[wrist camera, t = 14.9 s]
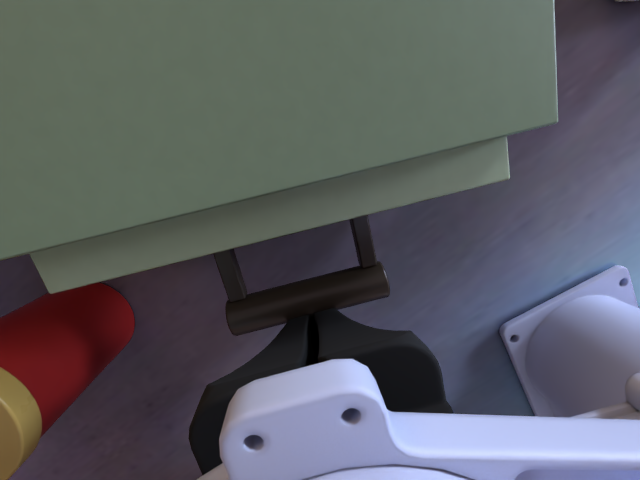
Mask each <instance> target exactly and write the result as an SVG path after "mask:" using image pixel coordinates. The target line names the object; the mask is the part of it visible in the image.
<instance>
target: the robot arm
mask: <svg viewBox="0 0 640 480" xmlns="http://www.w3.org/2000/svg"><path fill="white" fill-rule="evenodd" d="M499 331H500V335H501V337H502V340H503V342H504V344H505V347H506V349H507V351H508V354H509V356H510V359H511V361H512V363H513V366H514V368H515V370H516V373H517V375H518V377H519V380H520V382H521V385H522V387H523V389H524V392H525V394H526V396H527V399H528V401H529V403H530V406H531V408H532V411H533V413H534V415H535V416H507V415H476V414H454V413H453V411H452V408H451V407H450V405H449V404H448V402H447V401H446V397H445V391H444V385H443V379H442V373H441V369H440V366H439V363H438V361H437V360H436V358H435V356H434V355H433V354H432V352H431V351H430V350H429V349H428V347H427V346H426V345H425V344H424V343H423V342H422V341H421V340H420V339H419V338H418V337H417V336H416V335H414V334H413V333H412V332H411V331H391V330H383V329H377V328H372V327H369V326H365V325H362V324H360V323H357V322H355V321H353V320H351V319H349V318H347V317H346V316H344V315H343V314H342V313H340V312H339V311H338V310H336V309H334V308H332V309H328V310H324V311H320V312H317V313H314V316H311V317H310V316H309V315H305V316H301V317H298V318H294V319H290V320H288V322H287V323H286V325H285V326H284V327H283V329H282V330H281V331H280V333H279V334H278V335H277V336H276V338H275V339H274V340H273V341H272V342H271V343H270V344H269V345H268V346H267V347H266V348H265V349H264V350H263V351H261V352H260V353H259V354H258V355H256V356H255V357H254V358H253V359H251V360H250V361H249V362H247V363H246V364H244V365H243V366H241V367H240V368H238V369H237V370H235V371H233V372H232V373H230V374H228V375H226V376H224V377H222V378H220V379H218V380H216V381H214V382H212V383H210V384H208V385H207V386H206V388H205V390H204V393H203V395H202V397H201V399H200V402H199V404H198V407H197V409H196V412H195V415H194V417H193V420H192V422H191V425H190V428H189V441H190V445H191V449H192V451H193V454H194V456H195V458H196V461H197V463H198V465H199V468H200V470H201V472H202V475H203V476H201V477H200V478H198V479H197V480H640V309H639V308H638V304H637V300H636V296H635V293H634V289H633V285H632V282H631V278H630V274H629V271H628V269H627V268H625V267H623V266H619V265H616V266H613V267H611V268H609V269H607V270H605V271H604V272H602V273H600V274H598V275H596V276H594V277H592V278H590V279H588V280H586V281H584V282H582V283H580V284H579V285H577V286H575V287H573V288H571V289H569V290H567V291H565V292H563V293H561V294H559V295H557V296H556V297H554V298H552V299H550V300H548V301H546V302H544V303H542V304H540V305H538V306H536V307H534V308H533V309H531V310H529V311H527V312H525V313H523V314H521V315H519V316H517V317H515V318H513V319H511V320H509V321H508V322H506V323H504V324H503V325H502V326H501V327H500V330H499ZM512 336H513V338H512V339H510V338H511V337H512Z"/></svg>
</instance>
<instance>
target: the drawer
mask: <svg viewBox="0 0 640 480" xmlns="http://www.w3.org/2000/svg"><path fill="white" fill-rule="evenodd" d="M509 178H510V173H509V159H508V146H507V136H504V137H500V138H496V139H492V140H488V141H484V142H480V143H476V144H472V145H468V146H464V147H460V148H456V149H452V150H448V151H443V152H439V153H435V154H431V155H427V156H423V157H419V158H415V159H411V160H407V161H403V162H399V163H395V164H391V165H387V166H383V167H379V168H375V169H370V170H366V171H362V172H358V173H354V174H350V175H346V176H342V177H338V178H334V179H330V180H326V181H322V182H318V183H314V184H310V185H306V186H302V187H297V188H293V189H289V190H285V191H281V192H277V193H273V194H269V195H265V196H261V197H257V198H253V199H249V200H245V201H241V202H237V203H233V204H229V205H224V206H220V207H216V208H212V209H208V210H204V211H200V212H196V213H192V214H188V215H184V216H180V217H176V218H172V219H168V220H164V221H160V222H156V223H151V224H147V225H143V226H139V227H135V228H131V229H127V230H123V231H119V232H115V233H111V234H107V235H103V236H99V237H95V238H91V239H87V240H82V241H78V242H74V243H70V244H66V245H62V246H58V247H54V248H50V249H46V250H42V251H38V252H34V253H30V254H29V255H30V257H31V258H32V260H33V262H34V264H35V266H36V268H37V270H38V272H39V274H40V276H41V278H42V280H43V282H44V284H45V286H46V288H47V290H48V292H49V293H50V294H54V293H58V292H62V291H66V290H70V289H74V288H78V287H82V286H86V285H90V284H94V283H98V282H102V281H106V280H110V279H114V278H118V277H122V276H126V275H130V274H134V273H138V272H142V271H146V270H150V269H154V268H158V267H162V266H166V265H170V264H174V263H178V262H182V261H186V260H190V259H193V258H197V257H201V256H205V255H209V254H214V257H215V260H216V263H217V266H218V269H219V272H220V275H221V278H222V281H223V284H224V287H225V290H226V293H227V295H228V298H229V300H228V301H227V302H226V319H227V323H228V326H229V329H230V331H231V332H232V334H233V335H235V336H238V335H242V334H246V333H250V332H253V331H257V330H261V329H265V328H269V327H273V326H277V325H280V324H284V323H287V322H288V320H290V319H294V318H298V317H301V316H305V315H309V316H310V317H311V316H314V313H317V312H320V311H324V310H328V309H332V308H334V309H336V310H338V309H342V308H346V307H350V306H354V305H358V304H362V303H365V302H369V301H373V300H377V299H381V298H385V297H388V296H389V295H390V287H389V282H388V278H387V275H386V272H385V269H384V267H383V265H382V264H381V262H379V261H377V260H376V255H375V250H374V245H373V240H372V235H371V230H370V225H369V220H368V215H369V214H373V213H377V212H381V211H385V210H389V209H393V208H397V207H401V206H405V205H409V204H413V203H417V202H421V201H425V200H429V199H433V198H437V197H441V196H445V195H449V194H453V193H457V192H461V191H465V190H469V189H473V188H477V187H481V186H485V185H489V184H493V183H497V182H501V181H505V180H508V179H509ZM349 219H350V224H351V229H352V233H353V238H354V243H355V247H356V252H357V257H358V261H359V264H360V266H356V267H353V268H349V269H345V270H341V271H337V272H333V273H329V274H325V275H321V276H317V277H313V278H309V279H306V280H302V281H298V282H294V283H290V284H286V285H282V286H278V287H274V288H270V289H266V290H262V291H259V292H255V293H251V294H247V289H246V286H245V283H244V280H243V277H242V274H241V271H240V268H239V264H238V261H237V258H236V255H235V252H234V249H233V248H237V247H241V246H245V245H249V244H253V243H257V242H261V241H265V240H269V239H273V238H277V237H281V236H285V235H289V234H293V233H297V232H301V231H305V230H309V229H313V228H317V227H321V226H325V225H329V224H333V223H337V222H341V221H345V220H349Z"/></svg>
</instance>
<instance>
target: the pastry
mask: <svg viewBox="0 0 640 480" xmlns="http://www.w3.org/2000/svg"><path fill="white" fill-rule="evenodd" d="M614 1H616V2H625V1H639V0H614Z"/></svg>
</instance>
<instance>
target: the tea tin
mask: <svg viewBox="0 0 640 480" xmlns="http://www.w3.org/2000/svg"><path fill="white" fill-rule="evenodd" d="M134 327H135V319H134V314H133V311H132V309H131V307H130V305H129V303H128V302H127V300H126V299H125V298H124V297H123V296H122V295H121V294H120V293H119V292H117V291H116V290H114V289H113V288H111V287H109V286H107V285H105V284H102V283H94V284H90V285H86V286H82V287H78V288H74V289H70V290H66V291H62V292H58V293H54V294H50V293H47V294H45V295H43V296H41V297H40V298H38V299H36V300H34V301H32V302H30V303H28V304H26V305H24V306H22V307H20V308H18V309H16V310H15V311H13V312H11V313H9V314H7V315H5V316H3V317H1V318H0V480H8V479H9V478H10V477H11V476H12V475H13V474H14V473H15V472H16V470H17V469H18V468H19V467H20V466H21V465H22V464H23V463H24V462H25V461H26V459H27V458H28V457H29V456H30V455H31V454H32V453H33V451H34V450H35V448H36V446H37V444H38V442H39V439H40V438H41V436H42V435H43V434H44V433H45V432H46V431H47V430H48V429H49V428H50V427H51V426H52V425H53V424H54V422H55V421H56V420H57V419H58V418H59V417H60V416H61V415H62V414H63V413H64V412H65V411H66V409H67V408H68V407H69V406H70V405H71V404H72V403H73V402H74V401H75V400H76V399H77V398H78V397H79V395H80V394H81V393H82V392H83V391H84V390H85V389H86V388H87V387H88V386H89V385H90V384H91V383H92V381H93V380H94V379H95V378H96V377H97V376H98V375H99V374H100V373H101V372H102V371H103V370H104V368H105V367H106V366H107V365H108V364H109V363H110V362H111V361H112V360H113V359H114V358H115V357H116V356H117V354H118V353H119V352H120V351H121V350H122V349H123V348H124V347H125V346H126V345H127V344H128V342H129V341H130V339H131V337H132V335H133V332H134Z"/></svg>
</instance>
